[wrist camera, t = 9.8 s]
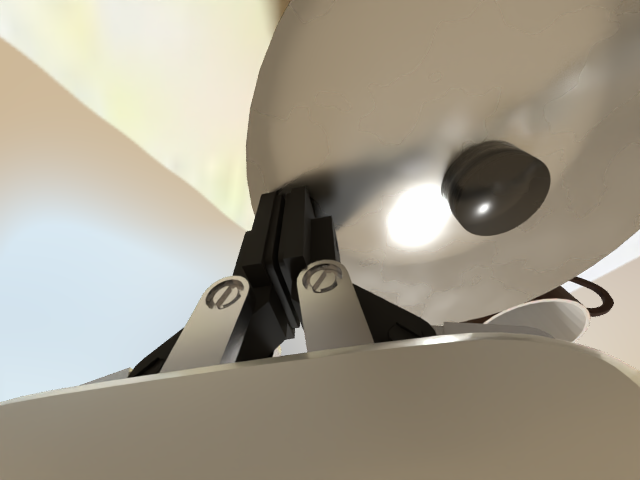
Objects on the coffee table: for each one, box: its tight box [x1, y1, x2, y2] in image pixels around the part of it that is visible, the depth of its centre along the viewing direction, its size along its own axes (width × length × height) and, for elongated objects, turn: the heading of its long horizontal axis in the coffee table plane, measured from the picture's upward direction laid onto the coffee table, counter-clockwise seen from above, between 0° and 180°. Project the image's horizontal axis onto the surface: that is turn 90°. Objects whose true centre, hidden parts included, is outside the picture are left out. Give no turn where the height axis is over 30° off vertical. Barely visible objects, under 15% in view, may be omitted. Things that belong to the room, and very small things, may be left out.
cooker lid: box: [246, 0, 640, 325], centre depth 11 cm, size 17×17×3 cm
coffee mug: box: [459, 277, 614, 343], centre depth 27 cm, size 12×9×10 cm
